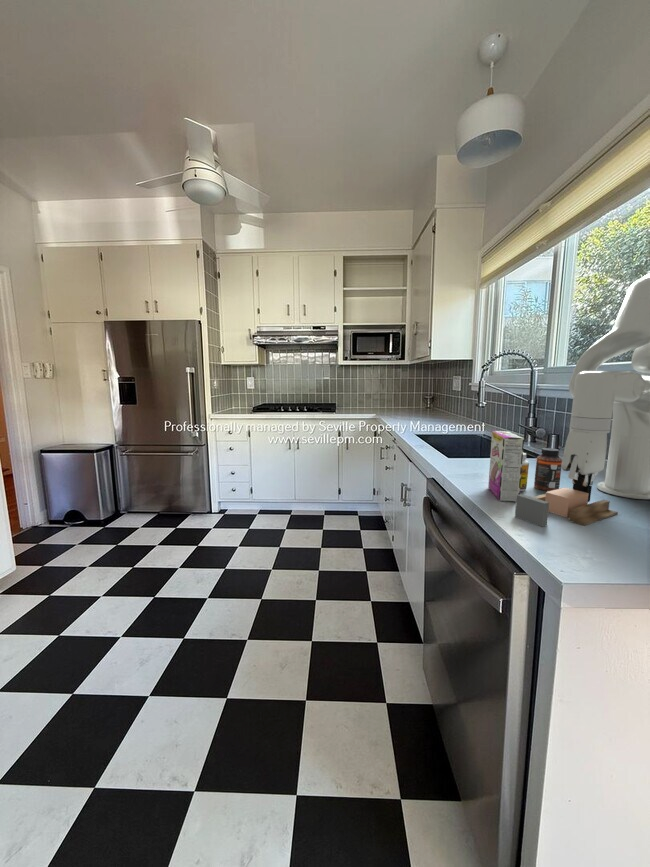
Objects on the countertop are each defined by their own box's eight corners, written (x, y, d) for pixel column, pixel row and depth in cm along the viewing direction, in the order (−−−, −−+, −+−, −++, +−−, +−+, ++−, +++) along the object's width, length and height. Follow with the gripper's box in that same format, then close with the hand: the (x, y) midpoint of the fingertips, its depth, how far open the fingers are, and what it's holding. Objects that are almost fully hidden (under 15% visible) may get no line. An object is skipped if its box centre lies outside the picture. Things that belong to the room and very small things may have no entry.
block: (563, 505, 85) (565, 487, 84) (586, 512, 81) (588, 493, 80) (543, 510, 81) (545, 492, 81) (566, 518, 77) (569, 498, 76)
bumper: (519, 515, 78) (521, 494, 77) (546, 525, 73) (549, 502, 72) (514, 516, 77) (516, 495, 76) (542, 526, 72) (544, 503, 71)
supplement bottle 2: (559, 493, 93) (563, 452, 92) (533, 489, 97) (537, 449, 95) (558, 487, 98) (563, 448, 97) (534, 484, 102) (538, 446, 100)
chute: (555, 496, 91) (556, 487, 90) (617, 514, 79) (618, 503, 79) (522, 505, 84) (523, 495, 84) (584, 525, 72) (585, 514, 72)
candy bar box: (486, 488, 98) (491, 430, 95) (505, 489, 97) (510, 431, 94) (498, 501, 87) (503, 436, 84) (519, 503, 86) (525, 437, 84)
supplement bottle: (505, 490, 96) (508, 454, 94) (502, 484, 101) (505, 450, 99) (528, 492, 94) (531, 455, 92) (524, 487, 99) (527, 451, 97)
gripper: (588, 421, 88) (580, 492, 90) (554, 424, 81) (546, 500, 83) (625, 425, 81) (614, 500, 84) (590, 428, 74) (580, 510, 77)
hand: (580, 500), depth 84 cm, fingers closed
